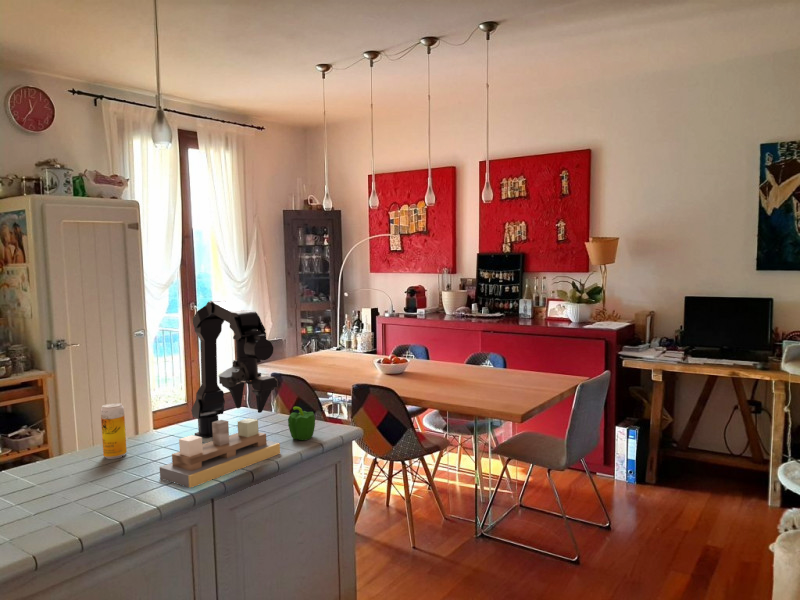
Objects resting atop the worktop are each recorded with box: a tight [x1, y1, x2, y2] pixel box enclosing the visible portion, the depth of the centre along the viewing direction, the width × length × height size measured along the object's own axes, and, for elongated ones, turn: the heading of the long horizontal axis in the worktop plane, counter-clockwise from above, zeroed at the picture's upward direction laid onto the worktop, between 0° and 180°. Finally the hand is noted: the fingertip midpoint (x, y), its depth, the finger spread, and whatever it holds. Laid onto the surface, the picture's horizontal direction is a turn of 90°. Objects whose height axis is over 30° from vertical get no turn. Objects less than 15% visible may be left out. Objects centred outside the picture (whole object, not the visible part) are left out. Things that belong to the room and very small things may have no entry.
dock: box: [159, 439, 281, 489], centre depth 163 cm, size 13×30×3 cm, turn 145°
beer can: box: [100, 402, 128, 460], centre depth 174 cm, size 6×6×15 cm
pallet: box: [171, 419, 267, 471], centre depth 163 cm, size 8×25×9 cm, turn 145°
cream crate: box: [178, 434, 203, 457], centre depth 155 cm, size 4×4×4 cm
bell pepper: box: [287, 406, 316, 441], centre depth 186 cm, size 8×8×10 cm
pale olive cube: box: [237, 417, 259, 437], centre depth 171 cm, size 4×4×4 cm
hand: (249, 410), depth 171 cm, fingers open, 9 cm apart
